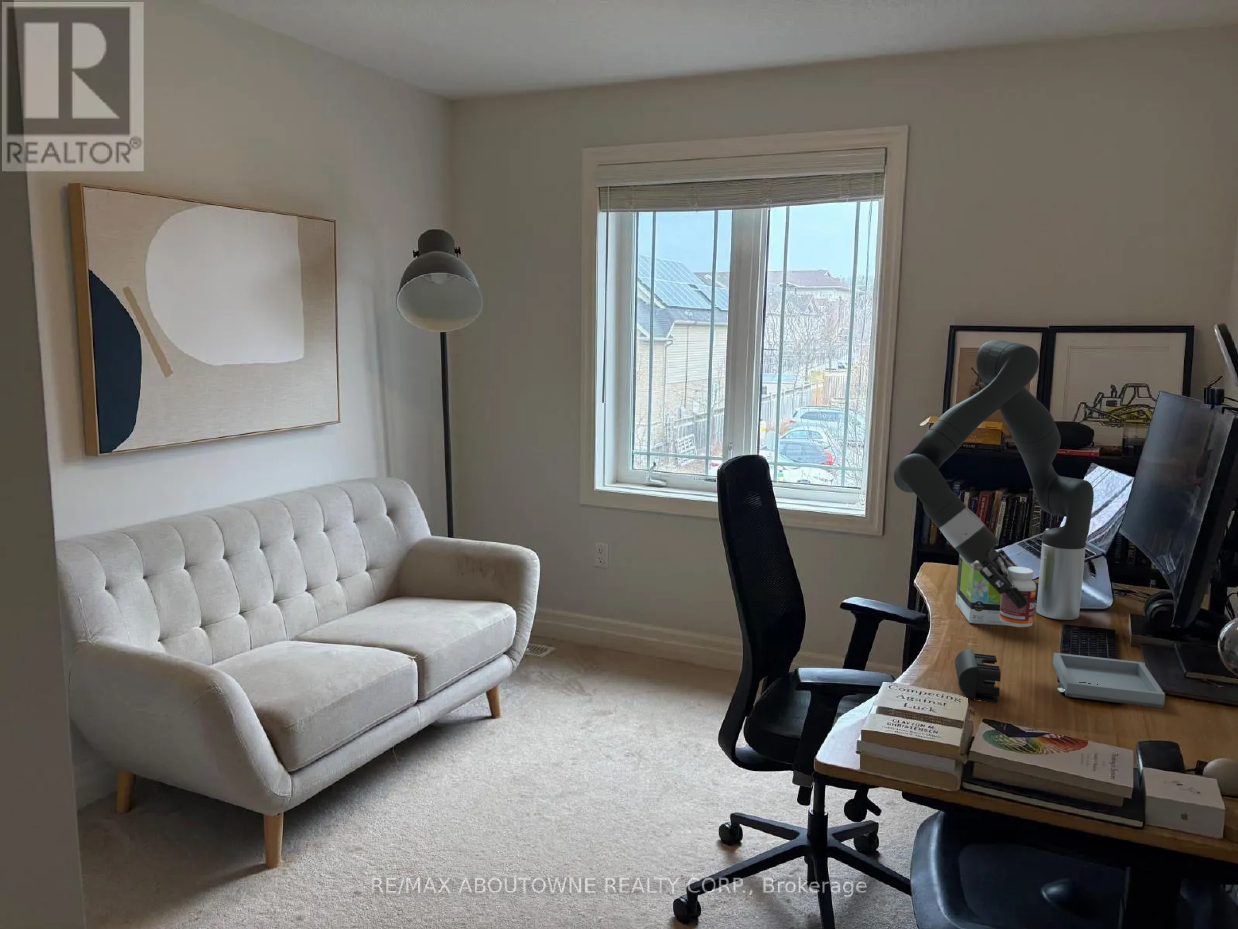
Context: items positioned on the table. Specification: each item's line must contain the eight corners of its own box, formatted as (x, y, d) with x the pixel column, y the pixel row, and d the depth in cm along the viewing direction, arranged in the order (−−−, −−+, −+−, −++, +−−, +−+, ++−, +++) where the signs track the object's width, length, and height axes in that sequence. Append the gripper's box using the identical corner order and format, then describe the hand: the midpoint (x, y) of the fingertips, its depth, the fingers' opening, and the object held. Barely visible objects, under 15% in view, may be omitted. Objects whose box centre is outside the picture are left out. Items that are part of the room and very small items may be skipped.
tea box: (1014, 626, 200) (1019, 564, 198) (968, 624, 202) (972, 562, 200) (996, 606, 215) (1001, 548, 213) (954, 604, 217) (958, 546, 214)
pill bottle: (1035, 629, 170) (1039, 575, 169) (1000, 626, 172) (1005, 572, 170) (1030, 619, 176) (1035, 566, 174) (997, 616, 178) (1001, 564, 176)
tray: (1052, 664, 178) (1053, 652, 177) (1141, 674, 173) (1142, 662, 173) (1066, 696, 163) (1067, 683, 162) (1163, 708, 158) (1165, 694, 158)
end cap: (953, 679, 171) (955, 646, 170) (992, 683, 169) (995, 650, 168) (957, 700, 161) (959, 665, 160) (998, 705, 159) (1001, 670, 158)
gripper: (975, 531, 169) (1037, 600, 165) (990, 517, 181) (1048, 581, 177) (945, 553, 173) (1005, 622, 169) (961, 538, 185) (1018, 601, 180)
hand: (1027, 600), depth 173 cm, fingers closed on pill bottle, 6 cm apart
